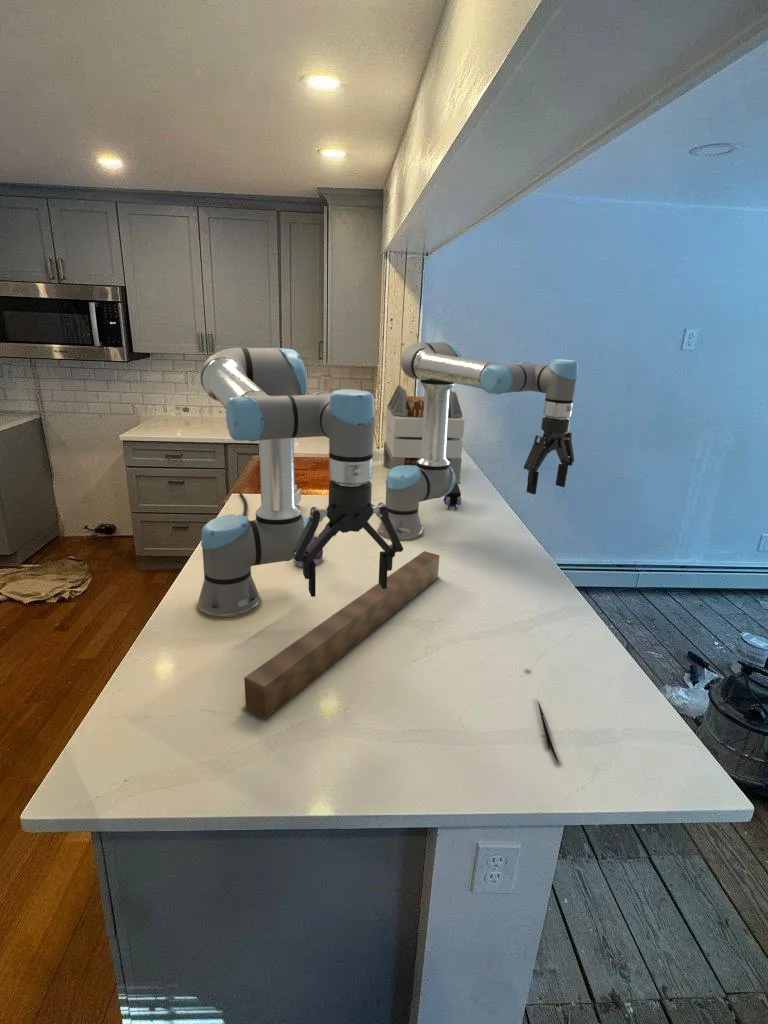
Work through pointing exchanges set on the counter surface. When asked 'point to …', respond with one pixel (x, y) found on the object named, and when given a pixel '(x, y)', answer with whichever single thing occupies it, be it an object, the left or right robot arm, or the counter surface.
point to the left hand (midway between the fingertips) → (347, 589)
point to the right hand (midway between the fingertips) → (545, 489)
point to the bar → (335, 637)
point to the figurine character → (453, 497)
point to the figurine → (318, 557)
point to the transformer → (419, 431)
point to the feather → (547, 731)
